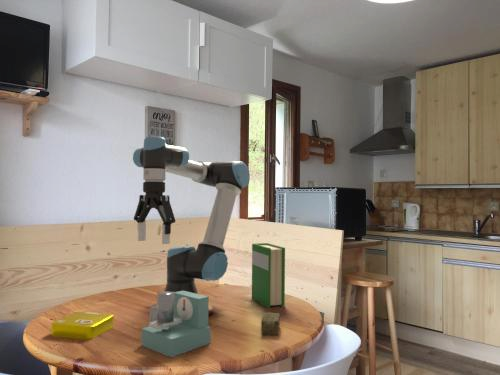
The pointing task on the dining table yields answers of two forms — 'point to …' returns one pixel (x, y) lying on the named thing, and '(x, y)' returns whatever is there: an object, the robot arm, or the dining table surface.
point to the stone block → (270, 323)
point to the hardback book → (268, 274)
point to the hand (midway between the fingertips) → (153, 242)
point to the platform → (165, 324)
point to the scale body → (182, 327)
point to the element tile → (82, 325)
